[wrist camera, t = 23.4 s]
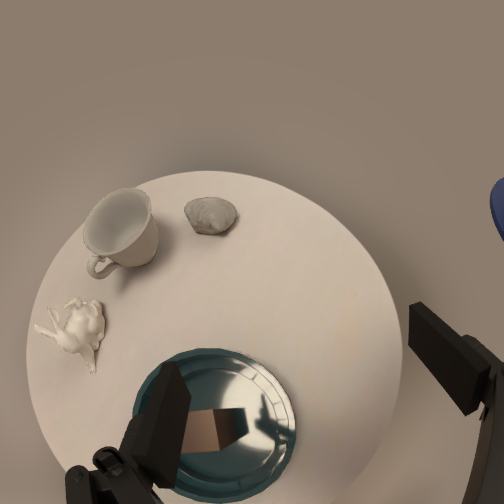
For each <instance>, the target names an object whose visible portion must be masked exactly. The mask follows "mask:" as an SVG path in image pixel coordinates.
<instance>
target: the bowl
mask: <svg viewBox="0 0 504 504" xmlns="http://www.w3.org/2000/svg"><path fill="white" fill-rule="evenodd" d="M169 361H176V363H177V366H178V368H179V370H180V372H181V375H182V377H183V379H184V381H185V383H186V385H187V388H188V390H189V392H190V394H191V396H192V398H191V403H190V408H189V411H198V410H207V409H222V408H233V414H234V419H235V424H236V429H237V435H238V440H237V441H236V442H234V443H232V444H231V445H229V446H227V447H226V448H224V449H222V450H221V451H212V452H199V453H181V455H180V461H179V467H178V472H177V478H176V484H175V489H171V490H172V491H174V492H175V493H177V494H179V495H182V496H184V497H187V498H190V499H193V500H195V501H199V502H207V503H216V504H223V503H231V502H237V501H241V500H245V499H247V498H249V497H252V496H254V495H256V494H259V493H261V492H262V491H264V490H265V489H266V488H267V487H269V486H270V485H271V484H272V483H273V482H275V481H276V480H277V479H278V478H279V476H280V475H281V473H282V472H283V470H284V469H285V467H286V466H287V464H288V463H289V461H290V459H291V455H292V452H293V448H294V445H295V441H296V422H295V414H294V411H293V408H292V405H291V401H290V399H289V397H288V395H287V394H286V392H285V391H284V389H283V387H282V386H281V384H280V383H279V381H278V380H277V379H276V378H275V377H274V376H273V375H272V374H271V373H270V372H269V371H267V370H266V369H265V368H264V367H263V366H262V365H261V364H259V363H257V362H256V361H254V360H252V359H250V358H248V357H246V356H244V355H242V354H240V353H236V352H232V351H228V350H224V349H219V348H198V349H194V350H190V351H186V352H182V353H179V354H177V355H175V356H173V357H171V358H170V359H168V360H166V361H164V362H169ZM162 363H163V362H162ZM162 363H161V364H160V365H159V366H158V367H157V368H156V369H155V370H153V371H152V372H151V373H150V374H149V375H148V376H147V378H146V380H145V381H144V383H143V385H142V386H141V388H140V390H139V391H138V393H137V397H136V400H135V404H134V407H133V415H132V418H133V417H134V416H135V415H136V414H144V412H145V409H146V406H147V403H148V401H149V398H150V395H151V392H152V390H153V387H154V384H155V381H156V379H157V376H158V373H159V371H160V368H161V365H162Z"/></svg>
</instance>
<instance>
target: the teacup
mask: <svg viewBox="0 0 504 504" xmlns="http://www.w3.org/2000/svg"><path fill="white" fill-rule="evenodd" d="M83 238H84V243H85V245H86V247H87V248H88V249H89V250H90V251H91V252H92V253H94V254H97V255H98V257H97V256H92V257H91V258H90V259H89V261H88V263H87V271H88V273H89V274H90V275H91V276H92V277H93V278H95V279H103V278H105V277H107V276H108V275H109V274H110V273H111V272H112V271H113V270H114V269H115V268H117V267H120V266H125V267H135V266H142V265H145V264H147V263H148V262H150V261H151V260H152V259H153V257H154V256H155V254H156V251H157V246H158V242H159V232H158V228H157V225H156V223H155V220H154V218H153V216H152V214H151V201H150V199H149V197H148V195H147V194H146V193H145V192H144V191H142V190H140V189H137V188H122V189H119V190H116V191H114V192H112V193H110V194H108V195H107V196H105V197H104V198H102V199H101V200H100V201H99V202H98V203H97V204H96V205H95V206H94V208H93V209H92V210H91V212H90V214H89V215H88V217H87V219H86V222H85V226H84V231H83ZM106 257H108V258H109V259H111V260H112V261H114V262H113V263H110V264H109V265H107V266H106V267H105V268H104V269H103V270H102V271H101V272H98V273H96V272H95V266H96V264H97V263H98V262H99V261H100V262H105V259H106Z"/></svg>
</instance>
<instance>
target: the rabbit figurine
mask: <svg viewBox="0 0 504 504" xmlns="http://www.w3.org/2000/svg"><path fill="white" fill-rule="evenodd" d="M63 307H64V309H66V308H67V307H69V308H70V309H72V308H73V307H74V309H73V311H72V312H71V313H70V315H69V316H68V318H67V322H66V326H65V327H64V330H63V329H62V327H61V324H60V320H59V315H58V313H57V312H56V310H55V309H54V308H51V307H48V311H49V314H50V317H51V320H52V322H53V325H54V327H55V329H56V331H57V333H55V332H52V331H50V330H48V329H46V328H43V327H41V326H39V325H38V324H35V330H36V331H37V332H39V333H41V334H43V335H46V336H48V337H51V338H54V339H55V341H56V343H57V344H58V346H59V347H60V348H62V349H63V350H65V351H67V352H71V353H73V354H74V353H76V352H80V353H81V354H82V355H83V357H84V358H85V360H86V361H87V363H88V364H89V365H87V366H90V374H91V372H92V374H93V372H96V367H95V366H96V363H95V359H94V352H93V350H98V348H99V341H101V340H102V339H103V338H104V328H105V319H104V317H103V315H102V306H101V303H100V302H99V301H98V300H96V299H93V300H92V301H91V302H87V301H85V302H83V303H82V299H80V298H79V297H75V298H74V299H73V300H72V302H70V303H67V304H65V305H64V306H63Z"/></svg>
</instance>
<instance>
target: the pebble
mask: <svg viewBox="0 0 504 504" xmlns="http://www.w3.org/2000/svg"><path fill="white" fill-rule="evenodd" d="M184 212H185V214H186V215H187V218H188V219H189V221H190V223H191V225H192V227H193V229H194V230H195V231H197V232H199V233H204V234H216V233H217V234H219V233H220V232H222V231H225V230H227V229H228V228H229V227H230V226H231V224H232V223H233V222H234V221H235V218H236V216H237V211H236V209H235V207H234V206H233V205H232V204H231V203H230V202H228V201H226V200H224V199H221V198H216V197H205V198H200V199H195V200H192V201H190V202H188V203H187V204H186V205H185V207H184Z"/></svg>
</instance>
